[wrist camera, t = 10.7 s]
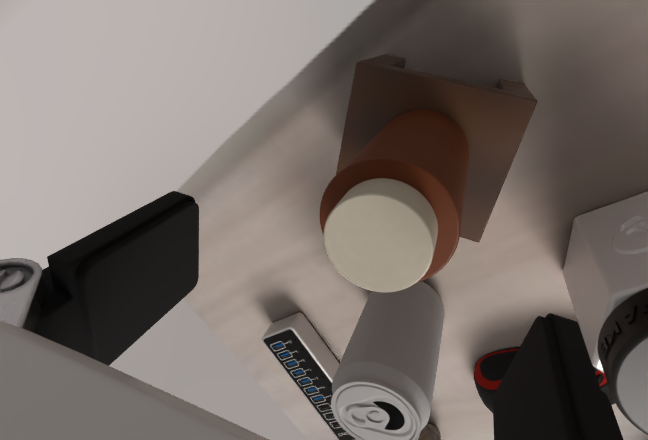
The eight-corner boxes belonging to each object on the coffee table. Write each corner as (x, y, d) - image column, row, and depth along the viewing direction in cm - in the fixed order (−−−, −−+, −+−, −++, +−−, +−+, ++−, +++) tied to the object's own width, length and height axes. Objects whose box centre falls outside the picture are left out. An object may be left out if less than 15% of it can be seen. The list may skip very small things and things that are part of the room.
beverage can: (454, 329, 34) (441, 459, 23) (384, 335, 37) (345, 453, 26) (432, 265, 32) (408, 376, 22) (360, 277, 35) (309, 379, 25)
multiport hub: (301, 311, 39) (291, 326, 37) (380, 418, 41) (374, 438, 39) (270, 323, 41) (259, 338, 39) (346, 425, 43) (340, 443, 41)
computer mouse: (636, 382, 30) (655, 428, 27) (499, 412, 36) (500, 452, 32) (594, 320, 29) (609, 358, 26) (461, 360, 35) (458, 396, 31)
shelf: (384, 54, 27) (356, 61, 21) (524, 83, 24) (537, 101, 19) (361, 164, 30) (331, 197, 24) (480, 197, 28) (479, 242, 22)
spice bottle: (386, 99, 21) (314, 152, 12) (483, 121, 20) (482, 198, 11) (367, 184, 23) (295, 281, 14) (451, 209, 22) (430, 330, 13)
